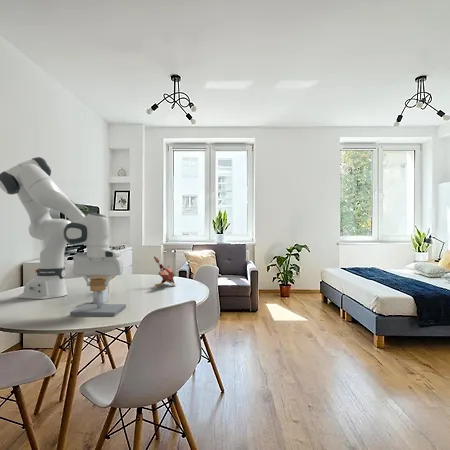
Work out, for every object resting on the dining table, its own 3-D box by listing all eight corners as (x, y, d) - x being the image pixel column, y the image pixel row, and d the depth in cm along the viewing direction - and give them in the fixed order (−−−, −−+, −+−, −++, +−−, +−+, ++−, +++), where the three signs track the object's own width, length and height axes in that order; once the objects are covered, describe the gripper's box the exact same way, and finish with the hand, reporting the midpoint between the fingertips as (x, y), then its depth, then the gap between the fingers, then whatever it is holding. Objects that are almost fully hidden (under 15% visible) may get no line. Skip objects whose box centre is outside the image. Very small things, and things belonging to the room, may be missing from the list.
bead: (87, 291, 146) (87, 280, 146) (94, 288, 152) (94, 277, 152) (102, 291, 146) (102, 280, 146) (108, 288, 152) (107, 277, 152)
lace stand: (70, 315, 143) (69, 290, 143) (85, 307, 157) (85, 284, 157) (114, 316, 142) (114, 290, 142) (126, 307, 156) (125, 284, 156)
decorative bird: (150, 276, 223) (159, 253, 222) (177, 287, 222) (186, 265, 222) (137, 284, 194) (147, 258, 194) (168, 297, 194) (179, 271, 193)
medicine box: (99, 300, 171) (99, 282, 171) (108, 300, 171) (108, 282, 171) (92, 304, 163) (92, 285, 163) (102, 304, 163) (102, 285, 163)
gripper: (69, 253, 147) (70, 287, 147) (119, 253, 146) (119, 287, 146) (76, 251, 153) (77, 284, 153) (124, 251, 152) (124, 284, 152)
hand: (98, 285), depth 149 cm, fingers closed on bead, 6 cm apart
